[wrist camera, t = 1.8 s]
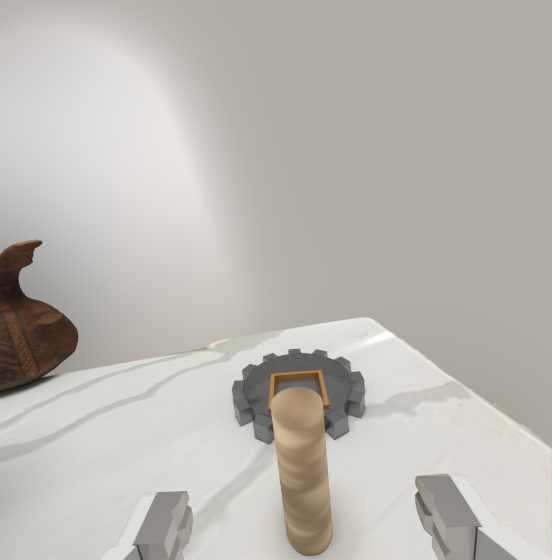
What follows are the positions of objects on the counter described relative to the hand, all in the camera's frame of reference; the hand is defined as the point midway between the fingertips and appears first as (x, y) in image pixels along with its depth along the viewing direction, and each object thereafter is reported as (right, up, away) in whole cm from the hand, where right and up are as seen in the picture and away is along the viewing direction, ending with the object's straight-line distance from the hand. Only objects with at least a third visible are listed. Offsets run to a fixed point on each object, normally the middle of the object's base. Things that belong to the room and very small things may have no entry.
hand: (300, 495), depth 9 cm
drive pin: (+2, -16, +16) cm, 23 cm away
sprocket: (+3, -12, +36) cm, 38 cm away
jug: (-58, -14, +53) cm, 80 cm away
